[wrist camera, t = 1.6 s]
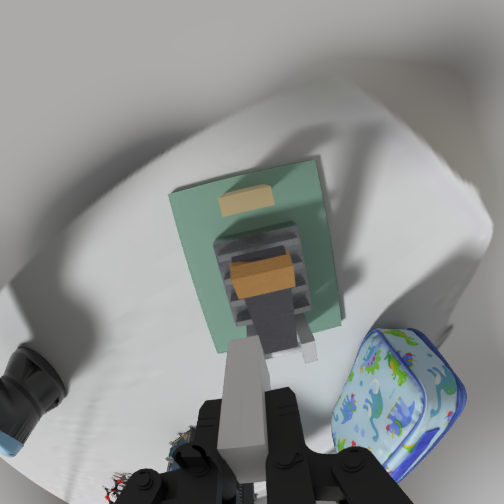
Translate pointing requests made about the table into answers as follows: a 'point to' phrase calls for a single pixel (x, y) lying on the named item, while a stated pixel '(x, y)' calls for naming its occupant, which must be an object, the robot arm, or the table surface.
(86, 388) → the table surface
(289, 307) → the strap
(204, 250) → the board
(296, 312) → the heatsink
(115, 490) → the molecular model
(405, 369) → the lunch box
